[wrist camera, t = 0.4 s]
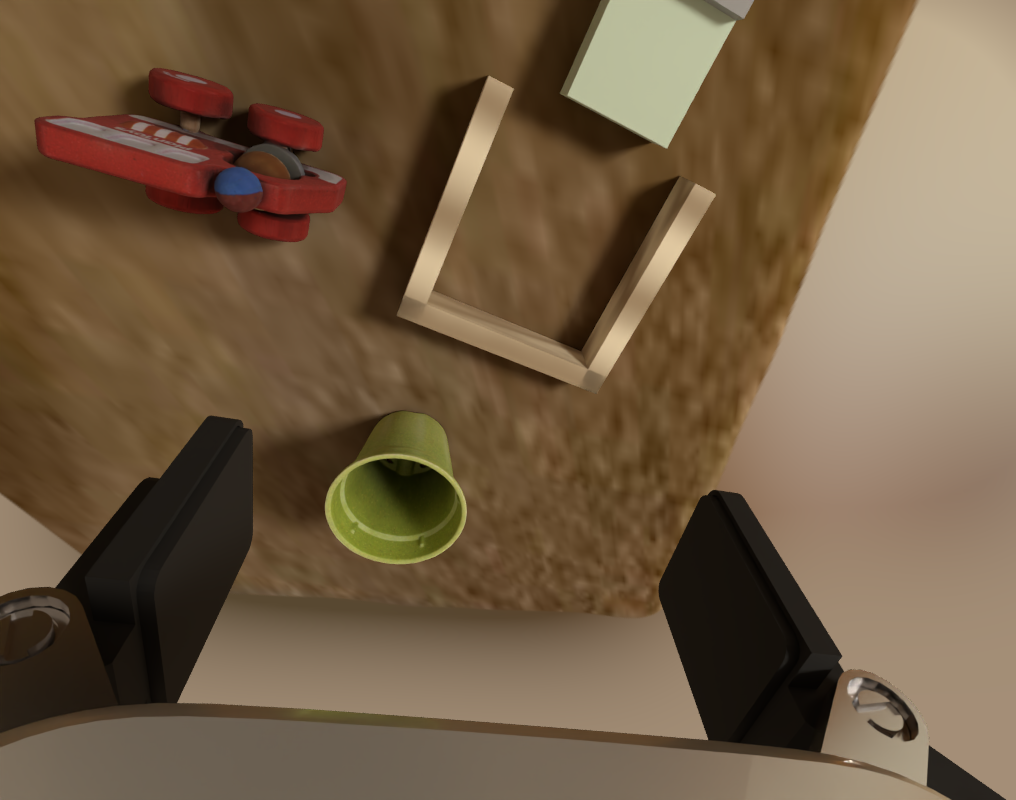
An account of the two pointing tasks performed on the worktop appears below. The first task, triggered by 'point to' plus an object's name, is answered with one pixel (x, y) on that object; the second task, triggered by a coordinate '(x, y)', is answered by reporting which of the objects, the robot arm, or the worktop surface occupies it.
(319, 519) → the worktop surface
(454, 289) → the worktop surface
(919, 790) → the robot arm
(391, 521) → the plant pot
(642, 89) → the pale green block
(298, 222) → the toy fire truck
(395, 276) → the worktop surface
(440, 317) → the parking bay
